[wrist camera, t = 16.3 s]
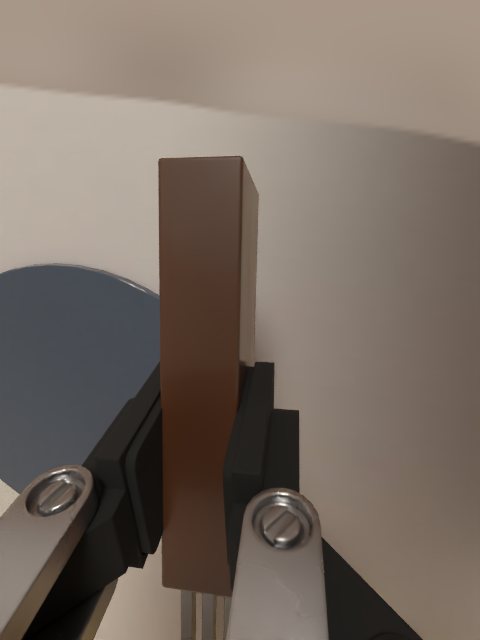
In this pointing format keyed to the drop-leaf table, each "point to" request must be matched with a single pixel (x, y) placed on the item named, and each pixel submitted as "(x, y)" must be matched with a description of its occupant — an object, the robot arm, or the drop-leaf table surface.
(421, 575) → the drop-leaf table surface
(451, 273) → the drop-leaf table surface
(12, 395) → the plate
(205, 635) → the fork
